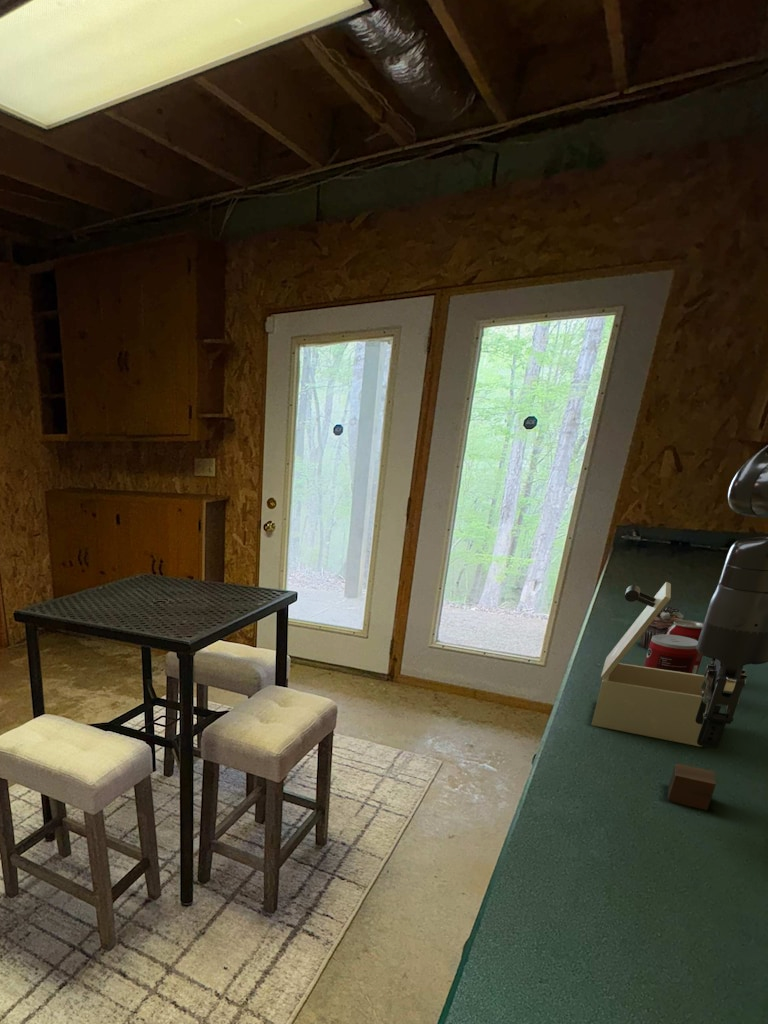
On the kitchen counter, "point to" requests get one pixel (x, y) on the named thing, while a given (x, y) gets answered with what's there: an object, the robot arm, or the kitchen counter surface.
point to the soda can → (688, 635)
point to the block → (691, 786)
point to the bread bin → (650, 703)
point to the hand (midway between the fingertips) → (705, 734)
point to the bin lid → (637, 623)
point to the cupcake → (660, 625)
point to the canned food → (672, 653)
